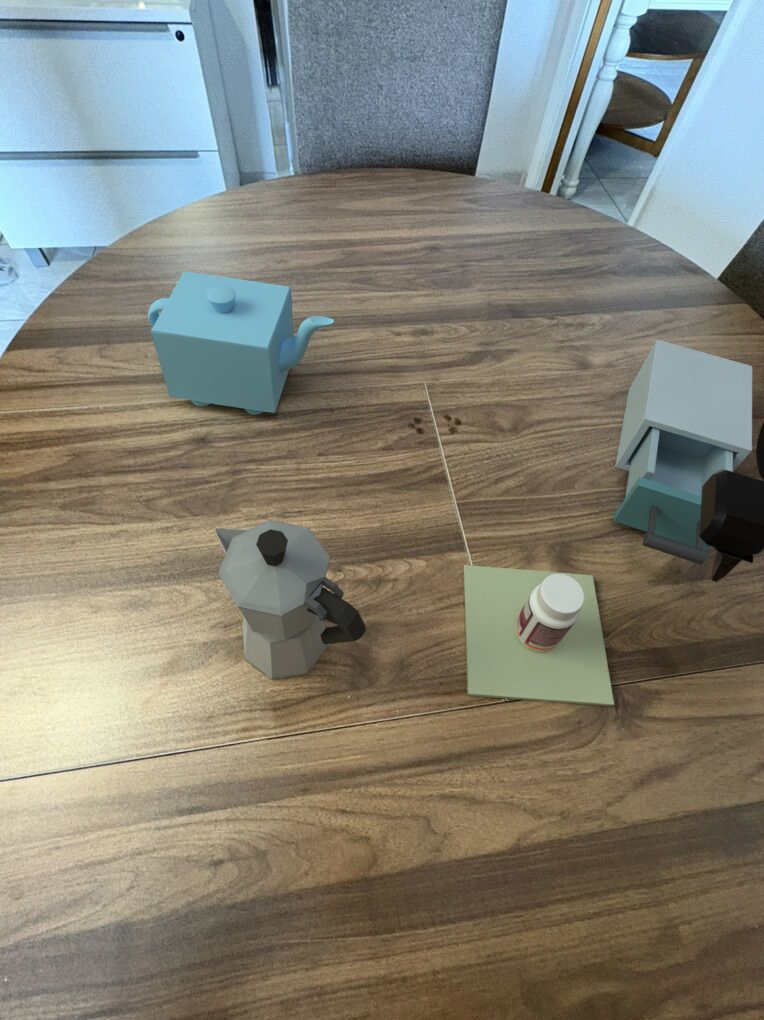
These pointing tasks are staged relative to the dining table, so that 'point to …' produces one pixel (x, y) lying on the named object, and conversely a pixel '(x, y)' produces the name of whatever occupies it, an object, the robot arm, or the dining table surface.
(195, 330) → the teapot
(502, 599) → the mat
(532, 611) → the pill bottle
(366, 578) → the dining table surface
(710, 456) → the drawer
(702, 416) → the pale grey hollow box
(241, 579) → the coffee maker
